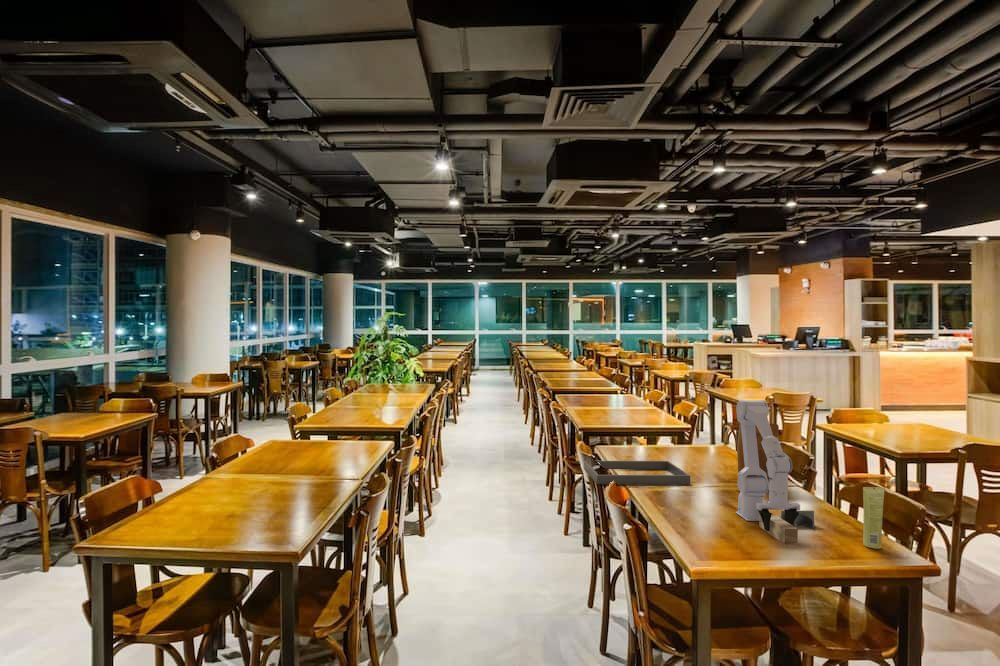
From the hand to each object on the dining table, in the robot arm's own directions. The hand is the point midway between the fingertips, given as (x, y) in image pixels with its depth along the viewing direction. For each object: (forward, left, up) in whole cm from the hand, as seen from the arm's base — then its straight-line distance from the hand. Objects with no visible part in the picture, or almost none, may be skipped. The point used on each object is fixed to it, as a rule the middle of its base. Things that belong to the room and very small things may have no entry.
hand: (777, 530), depth 194 cm
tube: (+11, +26, -2) cm, 28 cm away
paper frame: (-76, -27, -1) cm, 81 cm away
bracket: (-8, +13, -1) cm, 15 cm away
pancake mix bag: (-63, +26, -2) cm, 68 cm away
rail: (0, 0, -2) cm, 2 cm away
